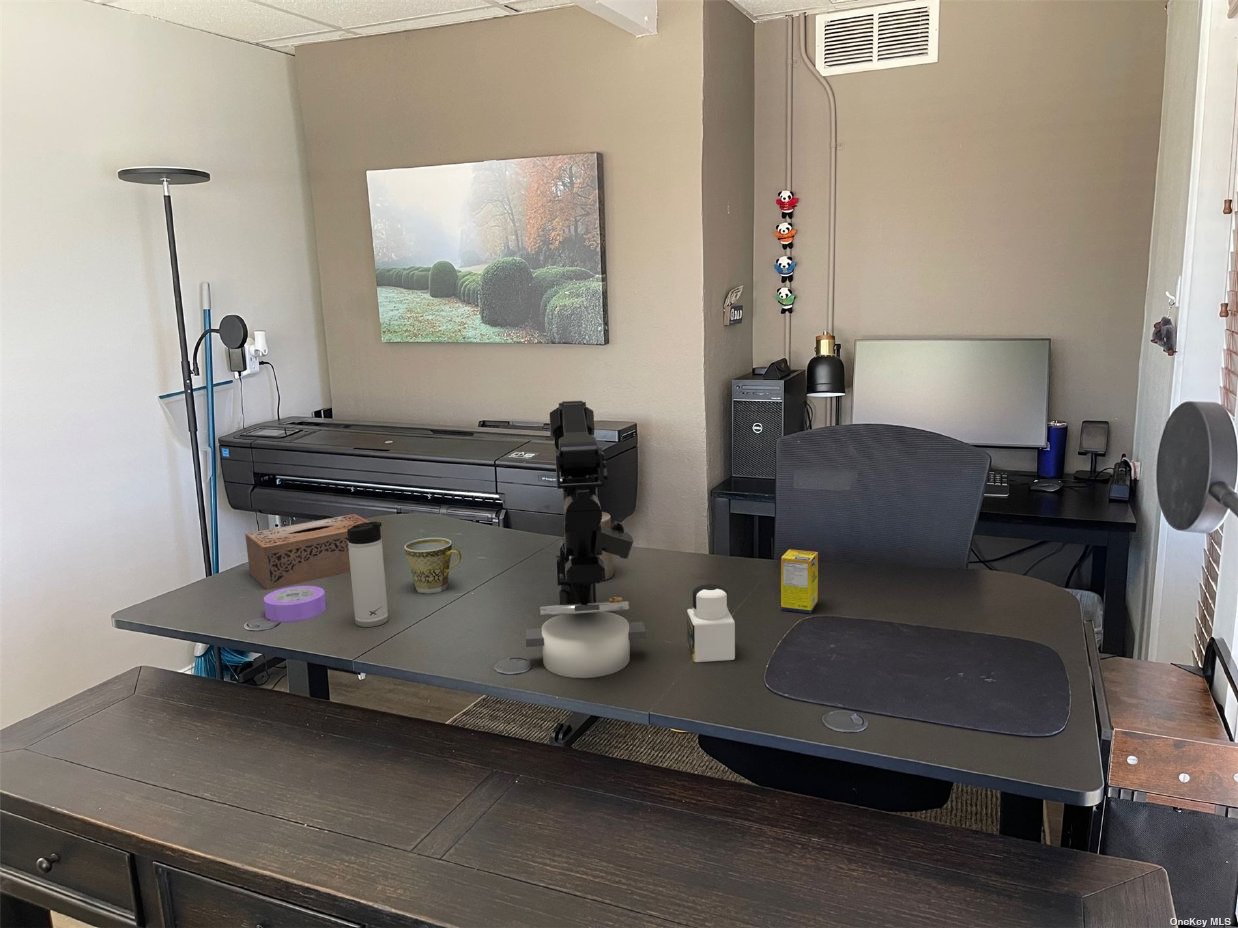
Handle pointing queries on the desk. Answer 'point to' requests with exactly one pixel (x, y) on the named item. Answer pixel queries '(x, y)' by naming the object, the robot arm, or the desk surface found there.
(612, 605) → the cooker lid
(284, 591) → the masking tape
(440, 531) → the desk surface
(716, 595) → the medicine bottle
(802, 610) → the supplement box
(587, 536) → the robot arm
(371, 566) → the travel mug
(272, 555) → the tissue box cover
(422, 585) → the ceramic cup
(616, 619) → the cooker body
